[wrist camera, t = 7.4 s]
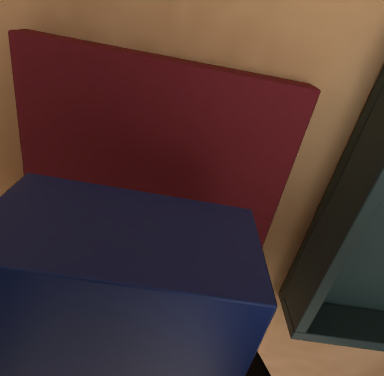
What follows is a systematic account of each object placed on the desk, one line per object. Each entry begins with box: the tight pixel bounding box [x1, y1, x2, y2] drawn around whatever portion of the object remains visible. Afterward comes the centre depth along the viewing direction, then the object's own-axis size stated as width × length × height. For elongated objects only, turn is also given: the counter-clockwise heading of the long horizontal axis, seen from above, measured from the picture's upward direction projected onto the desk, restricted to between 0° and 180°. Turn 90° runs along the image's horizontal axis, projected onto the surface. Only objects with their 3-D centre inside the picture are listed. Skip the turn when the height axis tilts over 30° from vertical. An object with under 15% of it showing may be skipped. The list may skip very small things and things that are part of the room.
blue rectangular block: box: [0, 173, 277, 376], centre depth 8 cm, size 8×6×3 cm
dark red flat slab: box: [8, 29, 320, 246], centre depth 14 cm, size 13×11×1 cm
